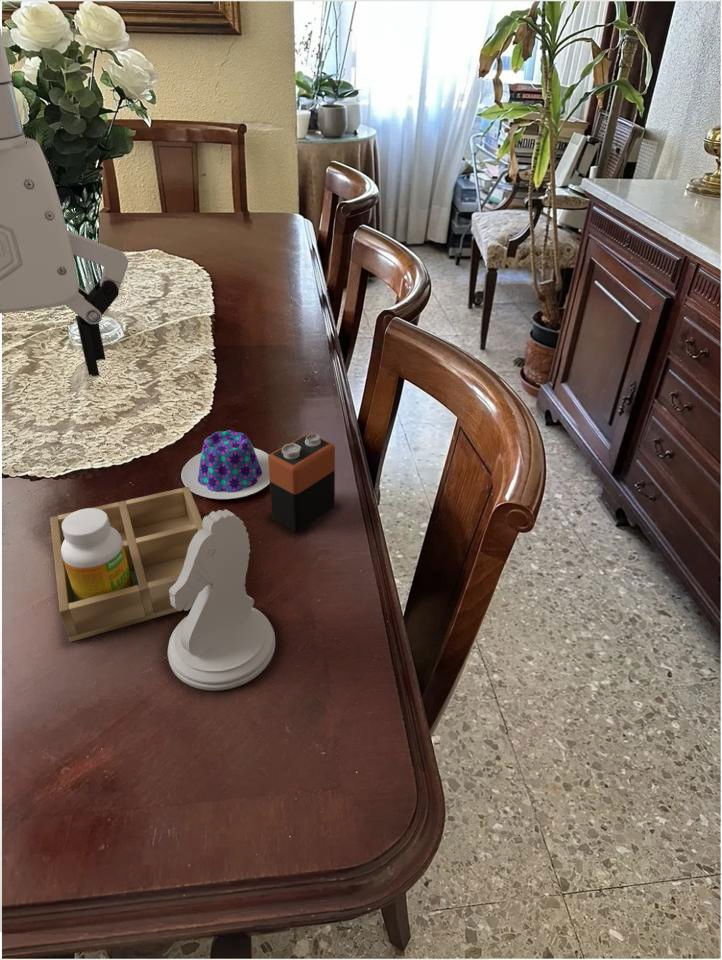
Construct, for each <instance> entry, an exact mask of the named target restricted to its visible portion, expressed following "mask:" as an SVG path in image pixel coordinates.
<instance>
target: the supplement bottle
mask: <svg viewBox="0 0 722 960" xmlns="http://www.w3.org/2000/svg"><path fill="white" fill-rule="evenodd" d="M72 512H73V513H71V512H70V513H71V514H70V515H68V516H67V517H66V518H65V519H64V521H63V522H62V530H63V534H64V538H65V540H64V541H63V543H62V547H61V554H62V558H63V561H64V564H65V567H66V570H67V574H68V577H69V580H70V583H71V586H72V589H73V593H74V596H75V599H76V601H80V600H83V599H87V598H91V597H95V596H98V595H102V594H106V593H110V592H113V591H117V590H121V589H125V588H128V587H132V586H133V583H132V579H131V575H130V571H129V566H128V562H127V558H126V554H125V550H124V546H123V542H122V538H121V536H120V534H119V532H118V531H117V530H116V529H114V528H112V527H110V523H109V519H108V516H107V514H106V513H105V512H104V511H102V510H100V509H95V508H94V507H87V508H82V509H78V510H76V511H72Z"/></svg>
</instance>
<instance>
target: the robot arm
mask: <svg viewBox="0 0 722 960" xmlns="http://www.w3.org/2000/svg"><path fill="white" fill-rule="evenodd" d="M3 38H4V37H3V34H2V30H1V28H0V314H7V313H8V314H9V313H17V312H27V311H35V310H44V309H51V308H58V307H61V306H66V308H68V309H69V310H71V311H72V312H73V313H74V314H76V315H75V319H76V320H75V321H76V325H77V330H78V334H79V339H80V343H81V347H82V353H83V357H84V361H85V365H86V369H87V372H88V375H89V376H91V377H99V376H100V372H99V366H98V362H97V361H103V360H106V354H105V350H104V349H105V348H104V344H103V343H104V342H103V338H102V335H101V329H100V328H101V327H100V323H101V321H102V319H103V315H104V314H105V313H106V312H107V310H108V309H109V308H110V307H111V305H112V304H113V302H114V301H115V300H116V299H117V297H118V296H119V293H120V288H121V285H122V284H123V280H124V278H125V274H126V272H127V269H128V266H129V260H128V257H127V256H126V254H125V253H124V252H123V251H121V250H119V249H117V248H114V247H111V246H109V245H106V244H103V243H101V242H99V241H97V240H93V239H91V238H89V237H86V236H84V235H81V234H78V233H76V232H73V231H70V230H68V228H67V224H66V220H65V216H64V212H63V208H62V204H61V201H60V197H59V195H58V191H57V188H56V184H55V181H54V179H53V176H52V173H51V170H50V167H49V165H48V161H47V159H46V157H45V154H44V152H43V150H42V147H41V146H40V144H39V142H38V141H36V140H35V139H33V138H28V137H26V136H25V135H26V134H25V132H24V127H23V124H22V119H21V114H20V110H19V106H18V105H19V104H18V101H17V97H16V91H15V88H14V83H13V78H12V73H11V69H10V65H9V61H8V57H7V52H6V48H5V43H4V39H3ZM75 257H79V258H80V259H84V260H86V261H89V262H92V263H94V264H97V265H100V266H102V267H103V270H102V274H101V278H100V279H99V280H98V281H97V282H96V284H95V285H94V286H93V287H92V289H91V290H90V291H89V292H87V291H86V290H85V289H84V288H82V287H81V286H80V285H79V277H78V272H77V271H78V270H77V266H76V261H75Z"/></svg>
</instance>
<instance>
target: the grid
mask: <svg viewBox="0 0 722 960" xmlns="http://www.w3.org/2000/svg"><path fill="white" fill-rule="evenodd" d="M93 508H95V509H100V510H102V511H104V512H105V513H106V514H107V516H108V519H109V523H110V527H112V528H114V529H116V530H117V531H118V532H119V534H120V536H121V538H122V542H123V546H124V550H125V554H126V558H127V562H128V566H129V571H130V575H131V579H132V583H133V586H132V587H128V588H125V589H121V590H117V591H113V592H110V593H106V594H102V595H98V596H95V597H91V598H87V599H83V600H80V601H76V599H75V596H74V593H73V589H72V586H71V583H70V580H69V577H68V574H67V570H66V567H65V564H64V561H63V558H62V554H61V547H62V543H63V541H64V540H65V538H64V534H63V530H62V522H63V521H64V519H65V518H66V517H67V516H68V515H70V514H71V513H73V512H74V511H71V512H67V513H62V514H58V515H53V516H50V517H49V523H50V533H51V542H52V551H53V560H54V561H53V562H54V571H55V579H56V589H57V590H56V591H57V599H58V607H59V614H60V617H61V620H62V622H63V626H64V628H65V631H66V634H67V637H68V640H69V642H70V643H73V642H75V641H79V640H82V639H85V638H89V637H93V636H96V635H99V634H104V633H107V632H110V631H111V632H112V631H113V630H118V629H121V628H124V627H128V626H132V625H135V624H139V623H142V622H147V621H149V620H152V619H156V618H160V617H162V616H166V615H169V614H173V613H177V612H179V611H178V610H177V609H176V608H174V607H173V606H172V605H171V603H170V593H169V589H170V588H171V587H172V586H173V585H174V584H175V583H176V581H177V580H178V578H179V576H180V574H181V572H182V569H183V567H184V562H185V559H186V556H187V552H188V548H189V545H190V542H191V541H192V539H193V537H194V535H195V534H196V533H197V532H198V531H199V530H201V529H203V528H202V522H203V518H202V517H201V513H200V512H199V509H198V507H197V504H196V502H195V499H194V495H193V494H192V491H190V489H189V487H186V486H184V487H180V488H175V489H172V490H171V489H170V490H166V491H163V492H162V491H161V492H157V493H153V494H149V495H144V496H139V497H135V498H131V499H126V500H121V501H116V502H112V503H108V504H103V505H97V506H93ZM197 596H198V594H197ZM197 596H196V598H197ZM196 598H195V600H196ZM195 600H194V601H193V604H194V602H195ZM192 606H193V605H192ZM181 611H184V610H183V609H182V610H181Z"/></svg>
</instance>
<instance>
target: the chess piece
mask: <svg viewBox="0 0 722 960" xmlns="http://www.w3.org/2000/svg"><path fill="white" fill-rule="evenodd" d="M236 515H237V514H235V513H233V512H231V511H230V510H228V509H226V508H225V509H223V510H221V509H218V510H217V511H214V510H212V511H211V512H210V513H209V514H208V515H205V516H204V517H203V518H202V521H203V522H202V528H203V529H201V530H199V531H198V532H197V533H196V534H195V535H194V537H193V539H192V541H191V542H190V545H189V548H188V552H187V556H186V559H185V562H184V567H183V569H182V572H181V574H180V576H179V578H178V580H177V581H176V583H175V584H174V585H173V586H172V587H171V588H170V589H169V593H170V603H171V605H172V606H173V607H174V608H176V609H177V610H178V611H177V612H181V611H185V612H186V611H187V612H188V611H189V610H190V611H189V613H188V614H187V615H186V616H185V617H184V618H183V619H181V620H180V622H179V623H178V624H177V625H176V626H175V627H174V629H173V631H172V633H171V635H170V637H169V641H168V647H167V659H168V664H169V667H170V668H171V671H172V672H173V673H174V676H176V677H177V678H178V679H179V680H180V681H181V682H183V683H184V684H187V685H188V686H190V687H193V688H195V689H199V690H203V691H224V690H225V691H226V690H231V689H234V688H238V687H240V686H243V685H244V684H247V683H248V682H250V681H252V680H254V679H255V678H256V677H257V676H259V675H261V673H262V672H263V671H264V670H266V668H267V667H268V665H269V664H270V663H271V660H272V658H273V656H274V653H275V650H276V634H275V631H274V628H273V626H272V624H271V622H270V620H269V619H268V617H267V616H266V615H265V614H264V613H263V612H261V611H260V610H259V609H257V608H255V607H253V606H254V604H255V600H254V598H252V597H251V596H249V595H248V594H247V590H246V588H247V587H246V586H245V585H246V578H247V577H246V576H247V573H248V567H249V561H250V553H251V549H250V548H251V544H250V539H249V532H247V526H246V525H245V523H244V521H243V520H242V519H241V518H240V517H238V516H236ZM197 594H198V596H197ZM196 596H197V598H196ZM195 598H196V600H195ZM194 600H195V602H194V604H193V601H194ZM192 605H193V606H192ZM182 609H183V610H182Z"/></svg>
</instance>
